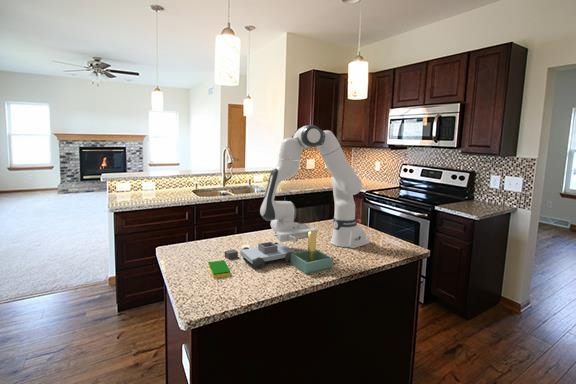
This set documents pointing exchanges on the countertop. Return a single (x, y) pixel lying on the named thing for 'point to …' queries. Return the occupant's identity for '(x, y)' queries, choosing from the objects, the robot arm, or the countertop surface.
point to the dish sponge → (219, 269)
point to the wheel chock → (231, 254)
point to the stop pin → (311, 246)
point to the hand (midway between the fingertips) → (305, 238)
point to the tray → (320, 263)
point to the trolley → (266, 253)
